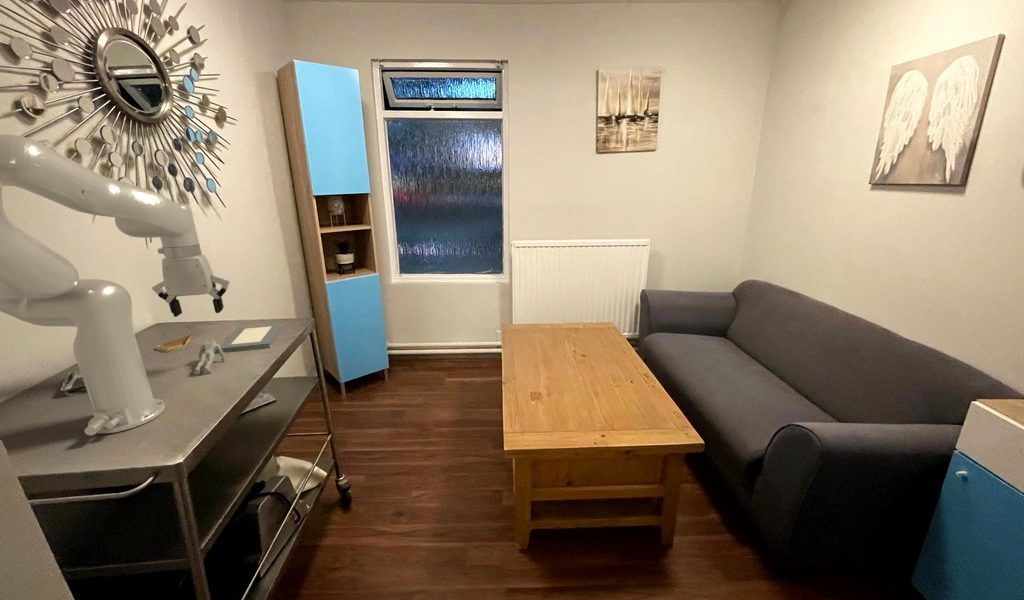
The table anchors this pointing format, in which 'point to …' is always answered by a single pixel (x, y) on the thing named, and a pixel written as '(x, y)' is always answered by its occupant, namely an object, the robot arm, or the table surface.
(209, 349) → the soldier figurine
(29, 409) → the table surface
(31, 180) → the robot arm
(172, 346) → the shard
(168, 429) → the table surface
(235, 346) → the base plate
